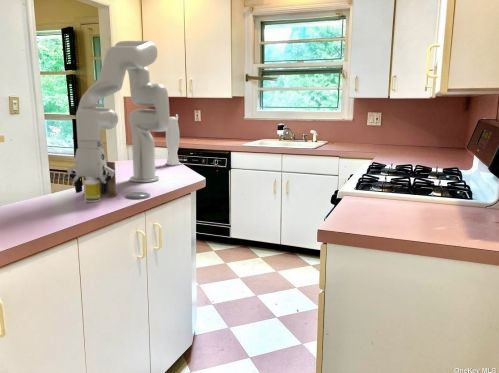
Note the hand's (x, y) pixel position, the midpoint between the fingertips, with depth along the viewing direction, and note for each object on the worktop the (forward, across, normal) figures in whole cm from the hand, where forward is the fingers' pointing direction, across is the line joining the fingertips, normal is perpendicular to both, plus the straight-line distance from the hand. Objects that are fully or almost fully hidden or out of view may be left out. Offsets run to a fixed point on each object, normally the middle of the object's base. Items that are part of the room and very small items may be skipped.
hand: (92, 192), depth 146 cm
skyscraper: (+3, -4, -84) cm, 84 cm away
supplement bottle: (+3, 0, 0) cm, 3 cm away
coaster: (+3, -13, -10) cm, 17 cm away
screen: (+3, +1, -8) cm, 9 cm away
